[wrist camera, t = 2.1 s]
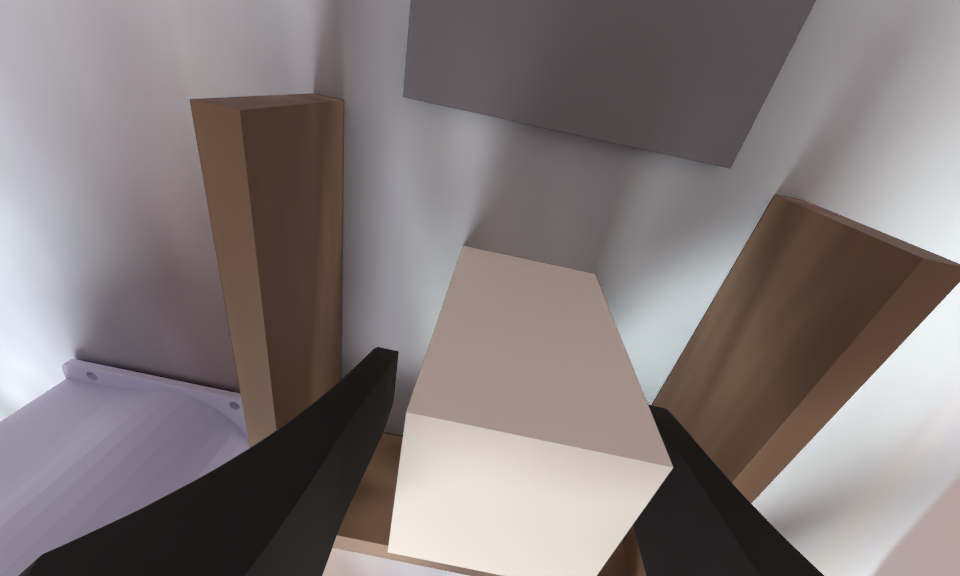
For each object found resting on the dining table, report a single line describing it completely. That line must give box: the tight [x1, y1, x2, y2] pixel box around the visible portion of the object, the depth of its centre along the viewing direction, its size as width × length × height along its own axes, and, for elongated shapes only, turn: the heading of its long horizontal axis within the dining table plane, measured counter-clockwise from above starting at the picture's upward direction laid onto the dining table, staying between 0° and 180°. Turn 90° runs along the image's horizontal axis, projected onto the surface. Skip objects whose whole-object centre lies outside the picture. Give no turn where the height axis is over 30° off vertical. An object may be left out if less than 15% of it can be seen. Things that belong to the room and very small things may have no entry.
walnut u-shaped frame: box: [190, 94, 960, 576], centre depth 14 cm, size 16×16×5 cm
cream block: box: [388, 246, 673, 576], centre depth 12 cm, size 5×5×8 cm
